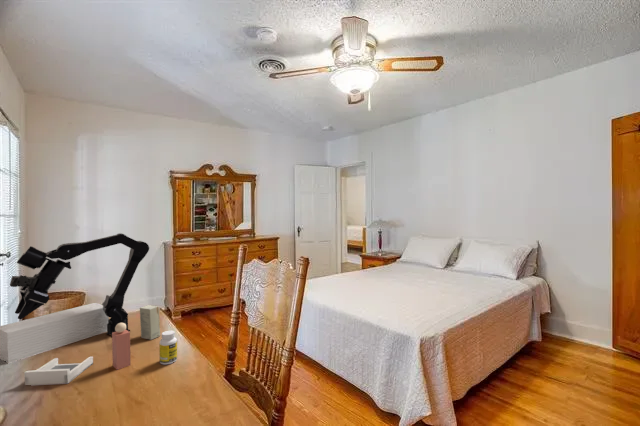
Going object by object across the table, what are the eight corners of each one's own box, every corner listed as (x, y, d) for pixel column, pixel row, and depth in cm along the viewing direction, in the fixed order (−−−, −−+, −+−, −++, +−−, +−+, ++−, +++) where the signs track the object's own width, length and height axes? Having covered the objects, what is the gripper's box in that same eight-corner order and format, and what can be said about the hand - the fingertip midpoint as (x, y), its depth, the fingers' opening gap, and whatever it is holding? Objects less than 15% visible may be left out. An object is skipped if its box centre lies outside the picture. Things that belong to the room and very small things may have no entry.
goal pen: (55, 365, 106) (54, 353, 106) (93, 363, 107) (92, 351, 107) (24, 385, 94) (24, 372, 94) (67, 383, 95) (67, 370, 95)
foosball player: (112, 365, 106) (111, 323, 106) (126, 361, 109) (125, 319, 109) (116, 369, 103) (115, 326, 103) (130, 365, 106) (129, 322, 106)
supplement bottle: (170, 365, 105) (169, 336, 105) (156, 364, 107) (155, 335, 106) (180, 358, 111) (180, 330, 110) (167, 356, 112) (166, 328, 112)
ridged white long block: (95, 326, 141) (94, 302, 141) (109, 331, 136) (108, 306, 136) (-4, 357, 113) (-5, 327, 113) (8, 364, 108) (7, 332, 108)
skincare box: (160, 336, 130) (160, 306, 129) (151, 340, 126) (150, 309, 125) (149, 333, 132) (149, 304, 132) (140, 337, 128) (139, 307, 128)
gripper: (20, 263, 120) (-12, 303, 114) (26, 268, 107) (-9, 313, 101) (52, 275, 127) (24, 313, 121) (62, 281, 114) (31, 324, 108)
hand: (17, 316), depth 113 cm, fingers open, 9 cm apart
